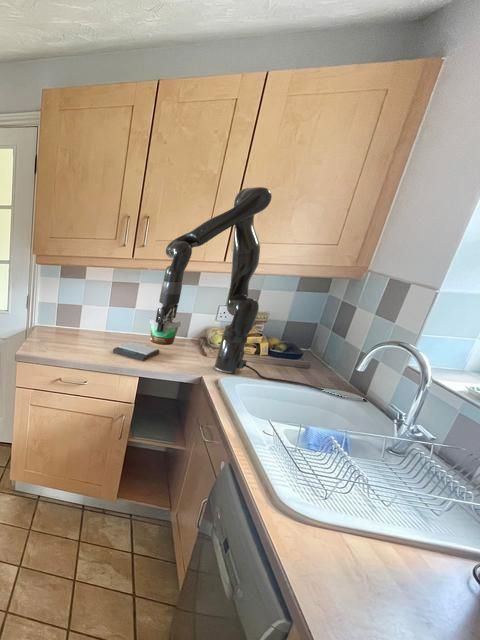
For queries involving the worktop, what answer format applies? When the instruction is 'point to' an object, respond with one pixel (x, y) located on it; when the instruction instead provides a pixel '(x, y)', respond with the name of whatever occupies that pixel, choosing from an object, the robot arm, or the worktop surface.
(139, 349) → the scale
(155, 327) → the food container
